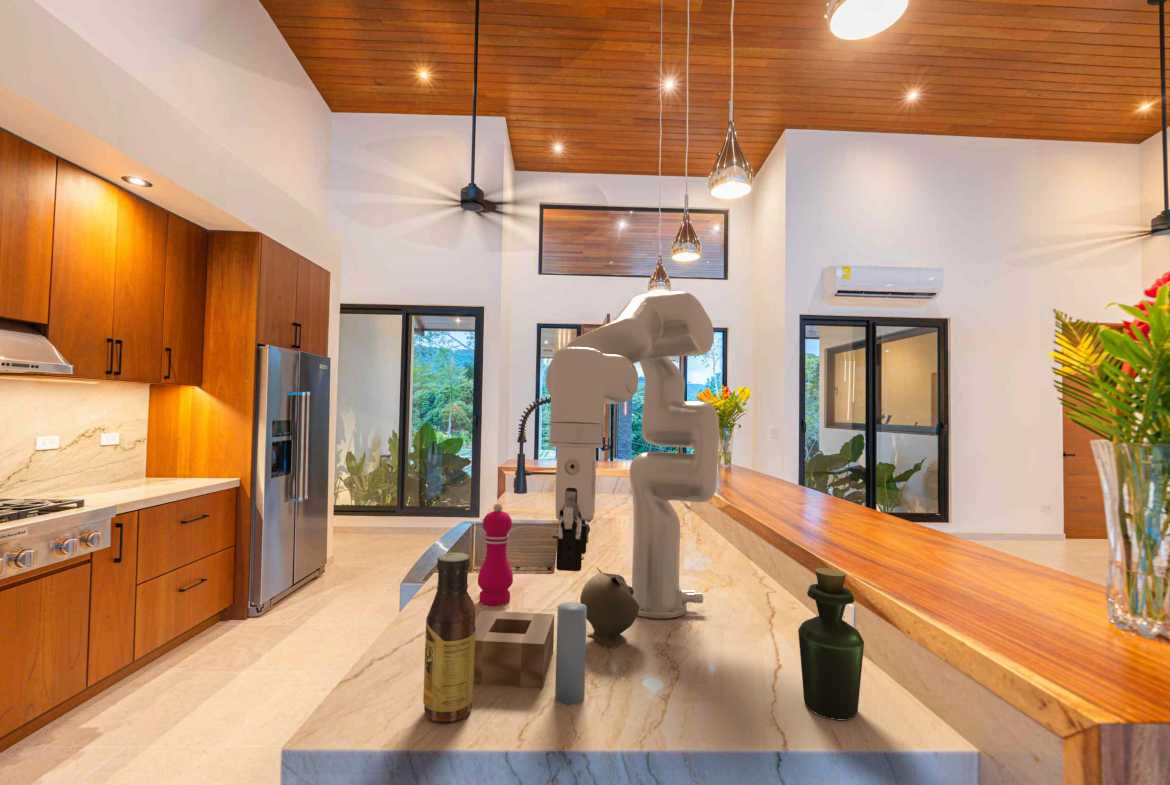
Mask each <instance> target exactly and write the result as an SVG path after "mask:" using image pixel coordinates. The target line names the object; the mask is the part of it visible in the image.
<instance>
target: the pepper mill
mask: <svg viewBox="0 0 1170 785" xmlns="http://www.w3.org/2000/svg"><path fill="white" fill-rule="evenodd" d="M512 525H513V521H512V518H511V516H510V515H509V513H507V512H505V511H503V506H502V504H501V503H496V504H494V506H493V511H490V512H488V513H487V514H486V515H485V516H484V518H483V520H482V528H483V529H482V530H483V531H485V533H486V534H485V535H484V542H485V544H486V553H485V554H486V555H485V558H484V561H483V563H482V565H481V567H480V570H479V573H478V576H477V584H478V586H479V587H480V589H481V591H480V592H479V603H480V604H482V605H483V604H484V606H488V605H489V606H488V607H497V605H500V606H504V605H507V604H508V603H510V600H511V591H510V590H509V588H510V587H511V586H512V585H513V583H514V582H513V581H514V578H513V575H514V574H513V571H512V568H511V565H510V563H509V559H508V557H507V556H508V555H507V544H508V543H509V541H510V540H509V537H510V535H509V531H510V530H511V529H512ZM506 603H507V604H506ZM503 604H504V605H503Z"/></svg>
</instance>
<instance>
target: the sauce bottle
mask: <svg viewBox="0 0 1170 785" xmlns="http://www.w3.org/2000/svg"><path fill="white" fill-rule="evenodd" d="M470 560H471V559H470V555H469V554H467V553H464V552H447V553H444V554H441V555H438V557H437V561H436V562H437V564H436V568H437V571H438V572H437V574H438V575H437V577H438V578H437V587H436V592H435V595H434V598H433V602H432V604H431V606H430V609H429V611H428V613H427V616H426V618H425V619H426V621H425V642H424V643H425V644H424V667H423V668H424V672H423V673H424V674H423V694H422V696H423V699H422V701H423V703H422V704H423V708H424V714H425V717H427V719H428V720H429V721H432V722H436V723H441V724H442V723H452V722H453V723H454V722H456V721H460V720H462V719H464V718H466V717H467V716H468V714H470V711H471V710H472V707H473V699H474V685H475V684H474V663H475V635H476V627H475V619H476V617H477V616H476V615H477V614H476V613H477V612H476V606H475V603H474V600H473V599H472V597H471V596H470V595H469V594H470V593H469V592H468V588H469V584H468V576H469V572H468V571H469V570H470Z"/></svg>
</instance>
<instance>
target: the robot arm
mask: <svg viewBox="0 0 1170 785" xmlns="http://www.w3.org/2000/svg"><path fill="white" fill-rule="evenodd" d="M714 338H715V333H714V327H713V322H712V321H711V319H710V316H709V315H708V313H707V312H706V310H705V308H704V307H703V305H702V304H701V302H700V301H699V299H698V298H697V297H696V296H694V294H691V293H690V292H687V291H672V292H671V291H670V292H657V293H656V292H655V293H646V294H641V295H638V296H635V297H633V298H632V299H631V300H629V301H628V303H627V304H626V305H625V306H624V307H623V309H622V310H621V311H620V312H619V313H618V314H617V316H616V317H615V318H614V319H613V320H612V322H609V323H606V324H604V325H601V326H599V327H597V328H595V329H593V330H590V331H588V332H586V333H583V334H581V335H579V336H577V337H575V338H573V339H571V340H569V341H568V342H567V343H565V344H564V345H563V346H562V347H561V348H559V349H558V350H556V351H555V352H554V353H553V356H552V359H551V360H550V362H549V365H548V366H547V369H546V373H545V387H546V391H547V392H548V395H549V396H550V415H549V416H550V418H549V439H548V440H549V441H548V446H549V447H556V463H555V464H556V465H555V466H556V468H555V519H557V521H559V527H558V537H557V538H556V565H555V566H556V570H558V571H560V572H561V571H565V572H567V571H568V572H580V571H581V570H582V562H583V561H582V559H583V557H582V555H585V554H586V553H587V537H588V536H587V535H588V534H587V530H588V526H587V525H586V523H591V522H592V521H593V520H594V518H595V517H594V516H595V513H596V512H595V511H596V482H597V481H596V476H597V467H596V465H597V462H596V460H597V459H596V449H599V448H601V449H602V448H603V447H604V423H605V421H604V419H605V418H604V415H605V404H606V405H617V404H619V405H620V404H623V403H626V402H628V401H629V400H631V399H632V398H633V397H634V396H635V394H636V392H637V390H638V386H639V374H638V370H637V368H636V366H635V364H636V363H639V364H640V367H641V371H642V373H643V376H644V396H643V405H642V417H641V435H642V439H643V440H644V442H646V443H647V444H649V445H653V446H658V447H667V448H668V447H669V448H671V447H672V448H691V449H693V452H694V453H683V452H673V451H672V452H667V451H647V452H642V453H640V454H638V455H636V456H635V457H634V458H633V459H632V461H631V463H630V467H629V479H630V480H629V482H630V489H631V494H632V507H633V509H632V511H633V515H632V516H633V521H632V522H633V524H632V525H633V526H632V527H633V530H632V533H633V534H632V568H631V569H632V574H631V575H632V577H631V578H632V579H631V580H632V581H631V582H632V583H631V587H632V588H633V590H634V594H633V595H632V596H633V598H634V599H635V600H636V602H637V603H638V605H639V612H638V615H637V617H638V616H639V617H642V618H647V619H655V620H656V619H657V620H658V619H659V620H661V619H662V620H664V619H665V620H666V619H673V618H675V619H676V618H678V617H681V616H683V615H685V614H686V613H687V607H688V605H687V604H688V603H693V604H703V603H704V595H703V592H696V590H693V589H692V590H691V589H690V590H689V589H688V590H687V589H686V590H684V589H683V588H682V587H681V584H680V556H681V555H680V554H681V553H680V552H681V549H680V548H681V521H680V518H679V516H678V514H677V512H676V510H675V508H674V507H673V505H672V504H671V503H670V501H680V502H690V503H691V502H692V503H707V502H709V501H710V500H712V499H713V497H714V496H715V494H716V489H717V482H718V463H719V462H718V460H719V442H720V441H719V440H720V420H719V415H718V412H717V410H716V408H715V407H714V406H713V404H711V403H709V402H706V401H692V400H691V401H690V400H689V401H687V400H686V401H685V390H686V388H685V387H686V380H685V379H686V378H685V377H684V375H683V373H682V372H681V370H680V369H679V368H678V367H677V365H675V363H674V362H673V361H672V360H671V359H670V358H669V357H694V356H697V357H699V356H703V355H705V354H707V353H708V352H709V351H711V349H712V347H713V345H714V340H715V339H714ZM586 521H587V522H586Z"/></svg>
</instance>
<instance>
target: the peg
mask: <svg viewBox="0 0 1170 785" xmlns="http://www.w3.org/2000/svg"><path fill="white" fill-rule="evenodd" d="M586 615H587V607H586V605H584V604H581V603H580V602H574V601H573V602H572V601H570V602H569V601H568V602H562V603H559V604H558V605H557V616H556V617H557V618H556V619H557V620H556V621H557V622H556V650H555V651H556V654H555V656H556V657H555V689H554V690H555V692H554V697H555V700H556V701H557V702H559V703H560V704H564V705H575V704H576V705H577V704H580V703H582V702H583V701H584V700H585V695H586V694H585V689H586V685H585V684H586V654H587V652H586V650H587V648H586V647H587V646H586V645H587V643H586V642H587V619H586Z"/></svg>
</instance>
